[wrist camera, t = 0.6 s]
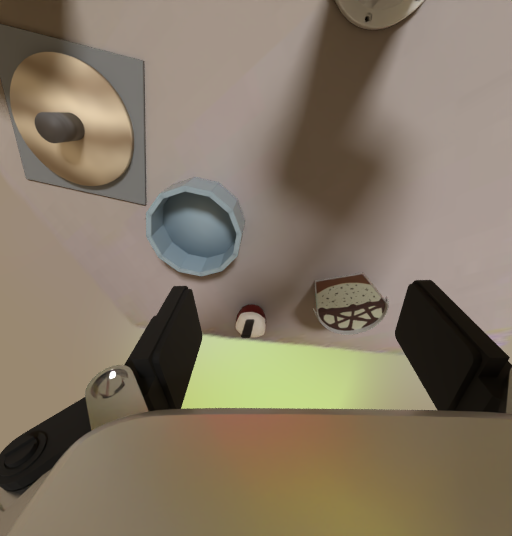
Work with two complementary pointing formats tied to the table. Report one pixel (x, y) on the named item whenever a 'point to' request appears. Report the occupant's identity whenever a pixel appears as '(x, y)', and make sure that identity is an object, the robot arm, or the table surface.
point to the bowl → (195, 226)
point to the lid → (72, 118)
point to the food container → (349, 304)
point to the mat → (119, 76)
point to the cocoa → (251, 321)
